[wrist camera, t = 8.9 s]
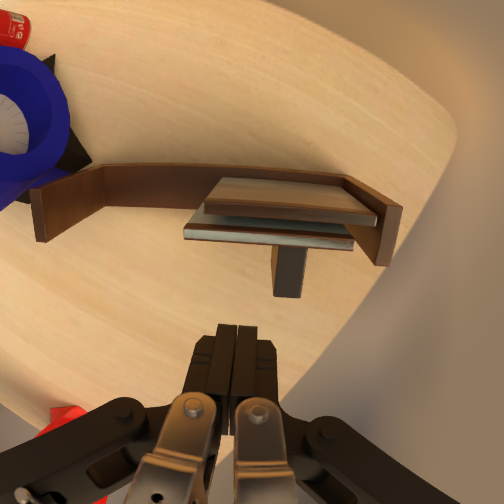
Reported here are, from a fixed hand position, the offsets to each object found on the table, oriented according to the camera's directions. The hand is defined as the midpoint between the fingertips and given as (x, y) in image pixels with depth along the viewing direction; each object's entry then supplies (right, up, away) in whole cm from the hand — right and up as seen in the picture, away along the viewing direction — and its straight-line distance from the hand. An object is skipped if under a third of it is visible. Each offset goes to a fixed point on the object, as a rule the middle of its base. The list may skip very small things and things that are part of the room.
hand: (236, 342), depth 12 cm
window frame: (-2, +8, +13) cm, 15 cm away
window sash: (+2, +6, +12) cm, 13 cm away
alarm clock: (-21, +15, +11) cm, 28 cm away
